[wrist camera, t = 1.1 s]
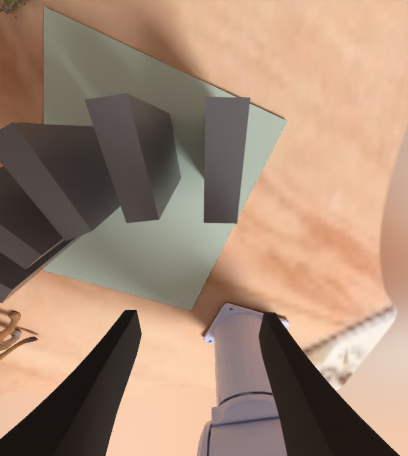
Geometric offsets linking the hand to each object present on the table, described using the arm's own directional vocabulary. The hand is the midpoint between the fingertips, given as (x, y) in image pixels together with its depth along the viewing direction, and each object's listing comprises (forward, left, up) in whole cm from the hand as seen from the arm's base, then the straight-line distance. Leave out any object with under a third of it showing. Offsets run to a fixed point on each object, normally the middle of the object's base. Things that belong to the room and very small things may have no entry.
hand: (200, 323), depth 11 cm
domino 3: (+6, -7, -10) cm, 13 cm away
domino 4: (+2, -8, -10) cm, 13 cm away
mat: (+7, -1, -10) cm, 12 cm away
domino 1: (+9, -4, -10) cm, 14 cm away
